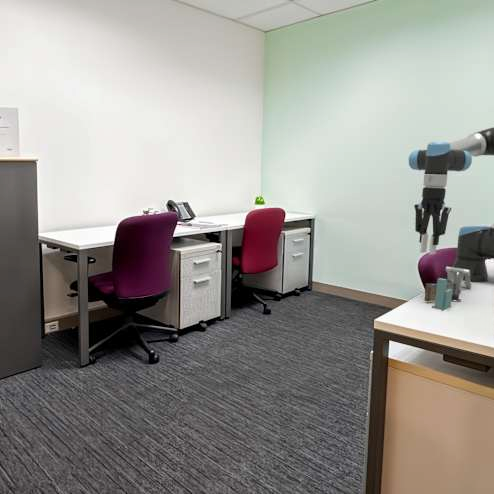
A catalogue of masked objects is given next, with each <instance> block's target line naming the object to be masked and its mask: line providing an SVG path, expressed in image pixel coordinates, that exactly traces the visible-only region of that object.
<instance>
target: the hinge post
mask: <svg viewBox="0 0 494 494" xmlns="http://www.w3.org/2000/svg"><path fill="white" fill-rule="evenodd" d="M461 274H462V272H459V271H454V280H453V284H454V286H453V291H452V300H451V302H452V303H453V302H454V303H461V301H462V300H461V299H460V293H459V292H460V283H461Z"/></svg>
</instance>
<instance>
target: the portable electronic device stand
mask: <svg viewBox="0 0 494 494" xmlns="http://www.w3.org/2000/svg"><path fill="white" fill-rule="evenodd" d="M454 271H459V272H462V274H461V283H460V289H461V290H462V288H465V289H471V288H472V286H473V285H472V284H473V283H472V282H471V281H470V270H467V269H460V268H454V267H453V266H446V267H445V272H446V273H447V280H450V281H452V283H453V280H454ZM464 275H465V281H464V280H463V277H464Z"/></svg>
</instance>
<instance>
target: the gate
mask: <svg viewBox="0 0 494 494" xmlns="http://www.w3.org/2000/svg"><path fill="white" fill-rule="evenodd" d="M453 286H454V284H453V283H447V285H446V290H448V289H452V290H453ZM424 289H425V290H424V291H425V292H424V301H425V302H435V299H436V289H437V283H427V282H426V283H425V288H424Z"/></svg>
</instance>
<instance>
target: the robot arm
mask: <svg viewBox="0 0 494 494" xmlns="http://www.w3.org/2000/svg"><path fill="white" fill-rule="evenodd" d="M480 156H494V127H490V128H486V129H483V130H480V131H477V132H473V133H470V134H469V135H468V136H466V137H465V138H461V139H457V140H454V141H452V142H446V141H445V142H444V141H431V142H429V143H428V144H427V147H426V149H419V150H417V149H416V150H413V151H412V152H411V153H410V154H409V156H408V166H409V168H411V169H412V170H414V171H415V170H416V171H423V172H424V175H423V183H422V184H423V186H424V187H422V194H421V197H422V200H421V201H420V203H418V204H417V203H416V204H414V211H415V225H414V227H415V229H414V230H415V232H417V233H419V239H418V240H419V244H420V252H419V253H422V254H423V253H427V249H428V239H429V234H428V228H429V223H430V219H431V217H432V234H431V236H430V240H429V241H430V242H429V249H428V254H429V255H436V252H437V246H438V245H439V240H440V236H444V235H445V234H446V230H447V227H448V226H447V225H448V219H449V215H450V213H451V211H452V207H450V206H449V207H448V206H447V205H445V198H446V191H447V190H446V188H445V187H447V182H448V172H464V171H467V170H468V169H469V168H470V167H471V165H472V161H473V158H474V157H480ZM472 157H473V158H472ZM457 237H458V239H457V247H456V257H455V258H456V259H455V261H454V263H453V265H452V267H454V268H460V269H467V270H470V282H473V283H474V282H475V283H476V282H477V283H478V282H479V283H483V282H488V280H489V273H488V268H487V265H486V258H487V259H492V260H494V223H493V224H492V225H490V226H487V225H479V226H477V225H476V226H475V225H474V226H473V225H472V226H462V227H460V228H459V232H458V236H457ZM463 282H465V275H464V277H463Z"/></svg>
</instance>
